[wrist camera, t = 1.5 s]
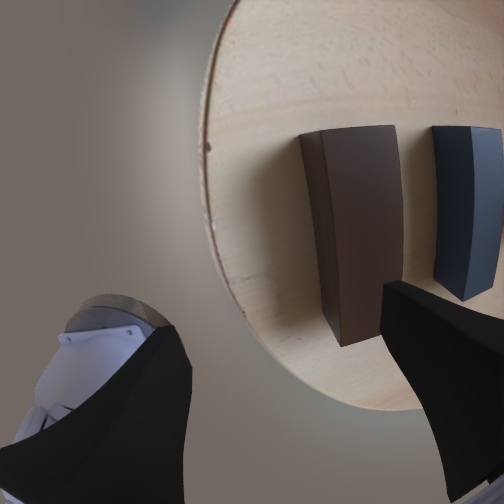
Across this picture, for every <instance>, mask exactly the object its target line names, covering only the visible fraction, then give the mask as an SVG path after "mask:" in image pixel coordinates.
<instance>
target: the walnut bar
mask: <svg viewBox="0 0 504 504" xmlns="http://www.w3.org/2000/svg"><path fill="white" fill-rule="evenodd" d="M299 139H300V144H301V150H302V155H303V161H304V167H305V172H306V178H307V185H308V191H309V198H310V204H311V211H312V218H313V226H314V233H315V241H316V249H317V258H318V267H319V277H320V287H321V298H322V310H323V314H324V316H325V318H326V320H327V322H328V323H329V325H330V327H331V329H332V331H333V333H334V335H335V337H336V339H337V341H338V343H339V345H340V347H344V346H347V345H351V344H354V343H357V342H361V341H364V340H367V339H370V338H373V337H376V336H379V335H381V332H380V330H379V328H380V318H381V307H382V293H383V284H384V283H388V282H392V281H395V280H400V281H402V274H403V238H404V233H403V198H402V182H401V170H400V160H399V152H398V144H397V137H396V130H395V125H378V126H362V127H349V128H338V129H328V130H320V131H314V132H309V133H304V134H300V135H299Z"/></svg>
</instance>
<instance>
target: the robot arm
mask: <svg viewBox="0 0 504 504" xmlns="http://www.w3.org/2000/svg"><path fill="white" fill-rule="evenodd" d="M128 330H130V331H131V332H132V333H131V332H129V331H128ZM379 330H380V332H381V335H382V337H383V339H384V341H385V343H386V346H387V348H388V350H389V352H390V353H391V355H392V357H393V358H394V360H395V361H396V363H397V365H398V366H399V368H400V369H401V371H402V373H403V374H404V376H405V377H406V379H407V380H408V382H409V384H410V385H411V387H412V389H413V390H414V392H415V393H416V395H417V397H418V399H419V401H420V402H421V404H422V407H423V409H424V411H425V414H426V416H427V418H428V421H429V423H430V426H431V428H432V431H433V434H434V437H435V440H436V443H437V446H438V450H439V453H440V457H441V461H442V464H443V470H444V475H445V481H446V487H447V495H448V497H449V500H450V502H451V503H453V502H454V501H456V500H458V499H459V498H461V497H462V496H464V495H465V494H467V493H468V492H470V491H471V490H473V489H474V488H476V487H477V486H478V485H480V484H481V483H483V482H484V481H485V480H487V481H488V483H489V485H488V486H487V487H486V488H484V489H483V490H481V491H480V492H479V493H477V494H476V495H475V496H473V497H472V498H470V499H469V500H467V501H466V502H464V503H463V504H504V320H503V319H499V318H496V317H492V316H489V315H485V314H482V313H479V312H476V311H473V310H471V309H468V308H465V307H463V306H460V305H458V304H455V303H453V302H450V301H448V300H446V299H443V298H441V297H439V296H436V295H434V294H432V293H429V292H427V291H425V290H423V289H420V288H418V287H416V286H413V285H411V284H408V283H405V282H403V281H400V280H395V281H392V282H388V283H384V284H383V293H382V307H381V318H380V328H379ZM58 339H59V341H60V343H61V344H62V345H61V347H60V348H59V350H58V351H57V353H56V354H55V356H54V357H53V359H52V360H51V362H50V363H49V365H48V366H47V368H46V370H45V371H44V373H43V374H42V376H41V378H40V380H39V381H38V383H37V385H36V388H35V395H34V403H35V407H31V408H30V410H29V411H28V413H27V415H26V417H25V418H24V420H23V422H22V424H21V426H20V428H19V430H18V432H17V434H16V436H15V438H14V440H13V442H12V444H11V445H9V446H6V447H3V448H1V449H0V488H1V490H2V493H3V494H4V496H5V497H6V499H7V500H6V501H5V504H185V503H184V488H183V487H184V486H183V451H184V442H185V435H186V428H187V421H188V415H189V408H190V402H191V394H192V366H191V364H190V361H189V359H188V357H187V355H186V352H185V350H184V348H183V345H182V343H181V341H180V338H179V336H178V334H177V331H176V329H175V327H174V325H172V326H164V327H158V328H157V329H156V330H154V331H153V332H152V333H151V335H150V336H149V337H148V338H147V339H146V338H145V336H144V334H143V332H142V330H141V328H140V327H139V326H137V325H128V326H121V327H113V328H105V329H97V330H89V331H80V332H70V333H61V334H59V336H58Z"/></svg>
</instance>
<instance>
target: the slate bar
mask: <svg viewBox="0 0 504 504" xmlns="http://www.w3.org/2000/svg"><path fill="white" fill-rule="evenodd" d="M432 131H433V138H434V147H435V157H436V170H437V191H438V227H437V248H436V261H435V272H434V279H435V280H436V281H437V282H439V283H440V284H441V285H442V286H444V287H445V288H446V289H447V290H448V291H450V292H451V293H452V294H453V295H455V296H456V297H457V298H458V299H459V300H461V301H462V302H464V301H466V300H468V299H470V298H472V297H474V296H476V295H478V294H480V293H482V292H484V291H486V290H488V289H490V288H492V287H493V283H494V278H495V273H496V267H497V262H498V256H499V249H500V242H501V233H502V223H503V210H504V154H503V141H502V131H501V129H493V128H483V127H472V126H432Z"/></svg>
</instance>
